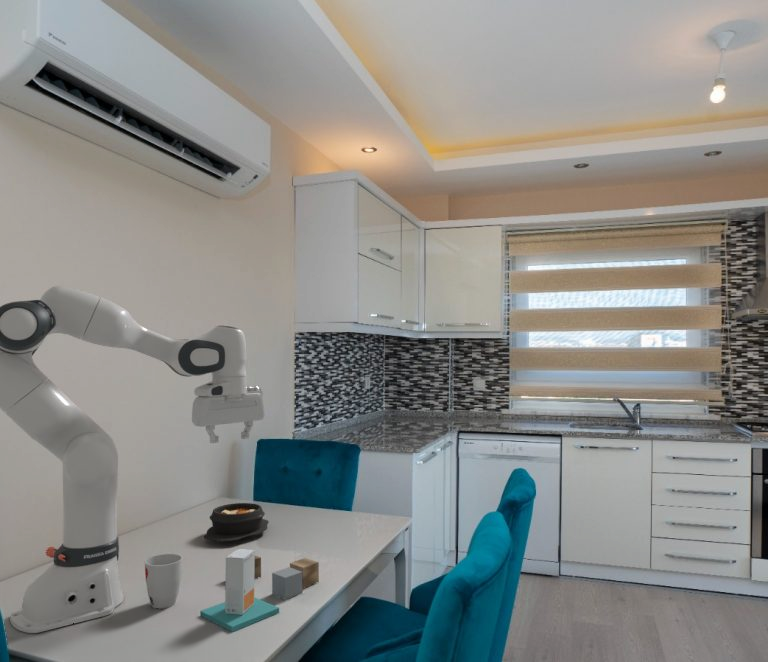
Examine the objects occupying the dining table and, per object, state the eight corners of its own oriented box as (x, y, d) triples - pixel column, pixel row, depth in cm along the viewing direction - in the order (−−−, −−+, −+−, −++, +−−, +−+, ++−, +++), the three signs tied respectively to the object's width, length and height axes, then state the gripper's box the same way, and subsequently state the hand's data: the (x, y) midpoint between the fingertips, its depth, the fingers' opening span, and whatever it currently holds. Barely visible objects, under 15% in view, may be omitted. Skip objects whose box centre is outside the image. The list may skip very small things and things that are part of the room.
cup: (153, 596, 140) (153, 553, 141) (187, 596, 140) (187, 553, 140) (138, 611, 132) (138, 565, 133) (174, 611, 132) (174, 565, 132)
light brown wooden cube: (303, 588, 144) (303, 567, 144) (290, 583, 148) (289, 563, 148) (318, 582, 148) (318, 562, 148) (305, 577, 151) (305, 557, 152)
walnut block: (244, 583, 148) (244, 562, 149) (232, 578, 152) (232, 558, 152) (261, 577, 152) (261, 557, 152) (249, 572, 155) (249, 553, 156)
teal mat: (232, 631, 122) (232, 626, 122) (200, 615, 130) (200, 610, 130) (279, 612, 131) (279, 607, 131) (246, 598, 139) (246, 594, 139)
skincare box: (243, 615, 127) (243, 558, 127) (224, 614, 128) (224, 557, 128) (255, 604, 133) (255, 549, 133) (237, 602, 134) (237, 548, 134)
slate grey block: (285, 599, 138) (285, 577, 138) (272, 594, 141) (272, 572, 141) (302, 593, 141) (302, 571, 142) (289, 588, 145) (288, 567, 145)
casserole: (243, 550, 174) (243, 520, 174) (188, 545, 179) (188, 516, 180) (282, 526, 198) (282, 500, 198) (232, 522, 203) (232, 497, 204)
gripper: (255, 385, 167) (255, 435, 166) (188, 389, 152) (188, 444, 151) (269, 386, 163) (269, 437, 162) (202, 390, 147) (202, 446, 147)
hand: (230, 440), depth 156 cm, fingers open, 8 cm apart
